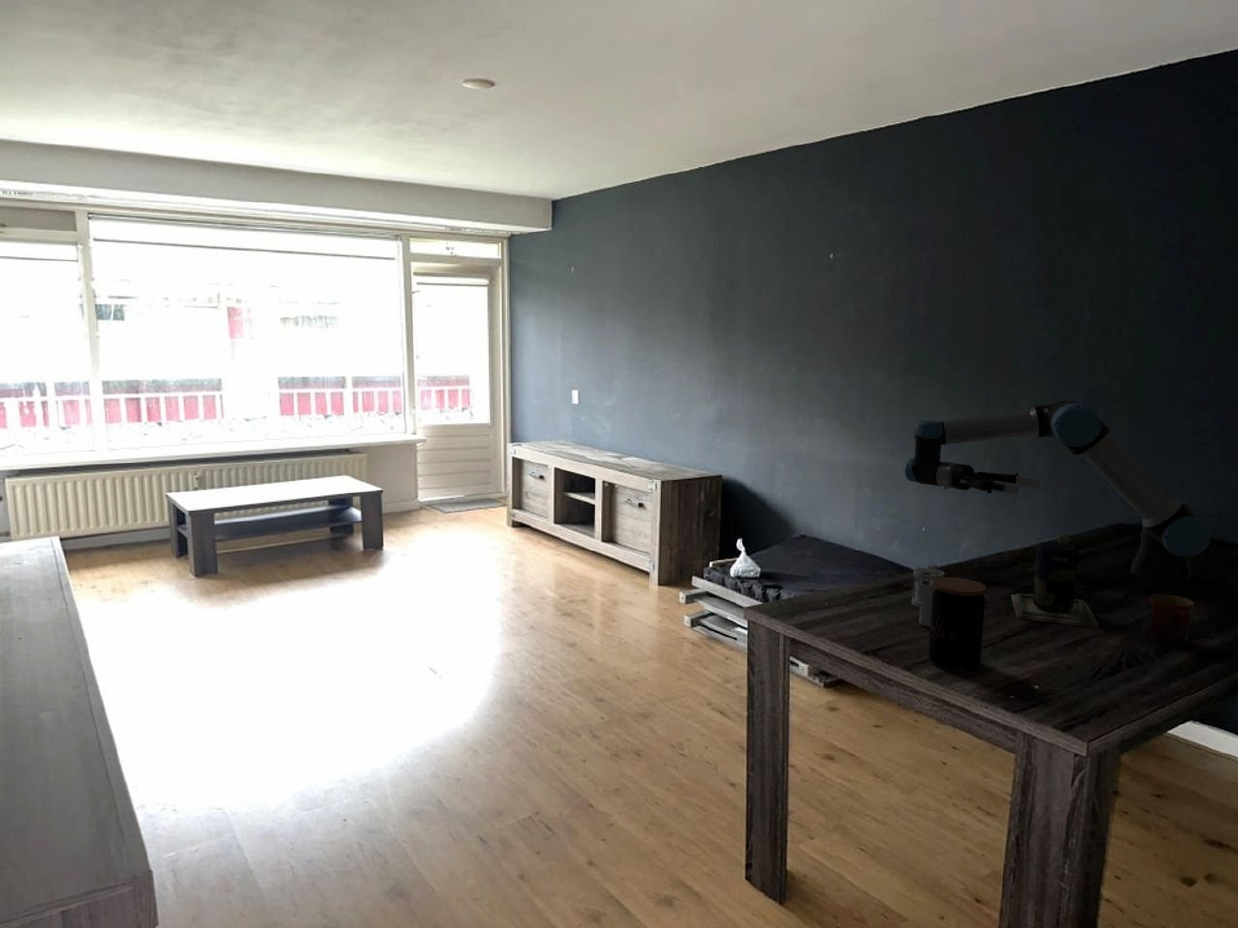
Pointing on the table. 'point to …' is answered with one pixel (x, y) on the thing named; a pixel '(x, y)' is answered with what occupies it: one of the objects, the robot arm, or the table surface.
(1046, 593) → the canister
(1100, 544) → the table surface
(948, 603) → the coffee jar
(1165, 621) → the mug
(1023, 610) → the square tray
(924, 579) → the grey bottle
